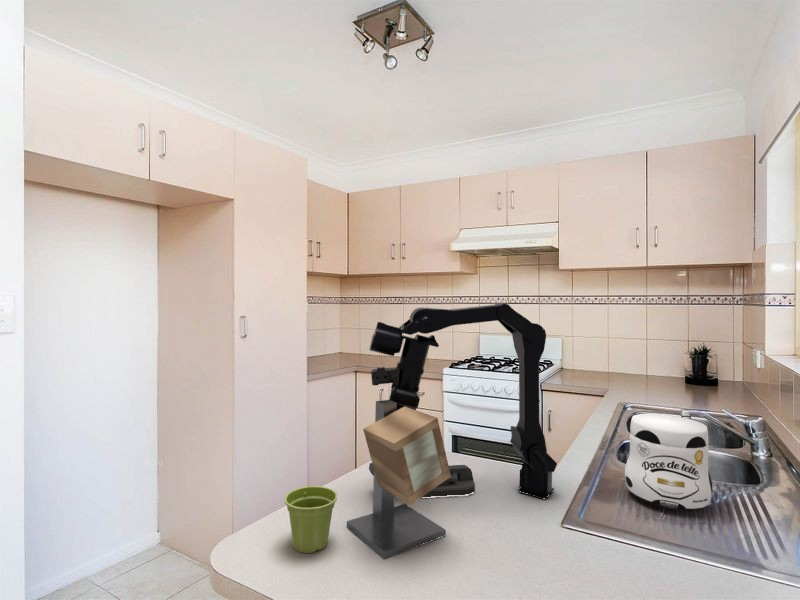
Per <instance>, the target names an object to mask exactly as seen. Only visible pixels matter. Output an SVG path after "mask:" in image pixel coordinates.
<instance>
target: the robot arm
mask: <svg viewBox="0 0 800 600" xmlns="http://www.w3.org/2000/svg"><path fill="white" fill-rule="evenodd" d="M495 321H496V322H499V324H500V325H501V326H502V327H503V328H504V329H505V330H507V331H508V332H509V333H510V334H511V336H512V342H513V347H514V351H515V353H516V355H517V359H518V394H519V395H518V397H519V399H518V403H519V405H518V408H519V410H518V411H519V414H518V422H517V424H516V426H513V425H510V434H511V437H510V441H509V443H510V444H511V445H512V446H513V449H514V451H515V452H516V453H517V454H518V455H519V457H520V459H521V460H522V461H523V463H521V469H520V470H519V482H518V483H519V484H518V485H519V487H520V488H519V489H518V492H519V491H521V492H524V493H528V494H531V495H535V496H538V497H541V498H540V499H542V498H547V496H548V495H549V494H550V493H551V492H552V491H553V490H554V491H555V488H554V487H552V486H553V473H554V472H555V470H556V467H557V461H555V460H554V458H552V457H551V456H550V454H549V453H548V449H547V443H546V438H545V434H544V431H543V428H542V426H541V424H540V361H541V358H542V356H543V353H544V351H545V347H546V340H547V332H546V329H545V328H544V327H543V326H542V325H541V324H539V323H534V322H532V321H530V320H529V319H528V318H526V317H525V316H523V315H522V314H521V313H519V312H518V311H516V310H515V309H513V308H512V307H511V306H510V304H508V303H501V302H499V303H495V304H488V305H479V306H478V305H477V306H470V307H461V308H451V309H447V308H446V309H445V308H436V307H435V308H432V307H417V308H415V309H413V311H412V312H411V314H410V316H409V319H408V320H406V321H405V322H404V323H403V324H401V325H400V326H399V327H397V326H395V325H389V324H386V323H384V322H381V321H377V323H376V327H375V330H374V333H373V334H372V335H371V340H370V344H369V345H370V346H369V351H370V352H375V353H378V354H383V355H385V356H386V355H387V356H390V357H395V354H400V352H401V354H400V358H399V361H398V362H397V364H396V367H393V366H392V367H385V366H381V367H379V366H378V367H377V368H372V369H371V371H370V374H371V385H372V386H379V385H386V384H387V385H388V384H391V388H390V395H389V399H388V400H390V401H393V402H396V403H397V410H399V409H401V408H403V407H404V406H405V407H408V408H411V409H414V410H416V411H417V409H418V407H419V404H420V400H421V399H420V395H419V394H418V393H419V391H420V383H421V380H422V376H423V375H424V371H425V370H424V369H425V364H426V361H427V356H428V353H429V349H430V346H431V347H435V348H438V347H439V346H440V344H439V343H438V341H437V340H436V336H435V335H433V334H431V335H429V336H425V335H426V334H430V333H433V332H437V331H441V330H444V329H446V328H450V327H453V326H459V325H460V326H461V325H466V324H467V325H469V324H477V323H478V324H479V323H487V322H495ZM417 333H420V334H417ZM403 334H405V335H403ZM414 334H416V335H414ZM421 334H425V335H421ZM407 335H409V336H407ZM411 335H414V337H411ZM403 342H404V344H403ZM402 347H403V348H402ZM401 349H402V351H401ZM554 491H553V492H554ZM553 492H552V493H553ZM524 493H523V494H524ZM552 493H551V494H552ZM531 495H530V496H531ZM535 496H534V497H535ZM538 497H537V498H538ZM547 499H548V498H547Z"/></svg>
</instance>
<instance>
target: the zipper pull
mask: <svg viewBox="0 0 800 600" xmlns="http://www.w3.org/2000/svg"><path fill="white" fill-rule="evenodd" d="M448 466H449V470H450V474H451V477H450V478H448V479H447V480H445V481H444V482H443V483H441V484H440V485H438V486H437V487H435V488H434V489H433V490H431V491H430V492H428V493H427V494H426V495H424V496H423V497H431V496H447V495H465V494H470V493H472V492H474V491H475V492H476V484H475V480H474V476H473V472H472V469H471V468H470V467H469V466H468V465H466V464H456V465H455V464H454V465H453V464H452V465H448ZM368 470H369V472H370V474H371V476H373V477H374V468H373V464H372V462H370V463H369V465H368Z"/></svg>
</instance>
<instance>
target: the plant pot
mask: <svg viewBox="0 0 800 600" xmlns="http://www.w3.org/2000/svg"><path fill="white" fill-rule="evenodd" d="M337 500H338V493H337V492H336V491H335V490H334V489H332V488H329V487H326V486H318V485H317V486H316V485H314V486H313V485H312V486H311V485H310V486H303V487H298V488H296V489H293V490H291V491H289V492H288V493H287V494H286V495H285V497H284V499H283V501H284V504H285V505H286V507H287V511H288V514H289V522H290V523H289V524H290V528H291V529H290V530H291V540H292V547H294V548H295V550H296V551H297V552H300V553H307V554H311V553H314V552H316V551H321V550H323V549H325V548H326V547H327V545H328V541H329V535H330V528H331V523H332V515H333V509H334V508H335V503H336V502H337Z"/></svg>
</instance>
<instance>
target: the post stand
mask: <svg viewBox="0 0 800 600" xmlns="http://www.w3.org/2000/svg"><path fill="white" fill-rule="evenodd" d="M395 411H397V403H396V402H393V401H390V400H389V399H383V400H376V401H375V417H374V419H375V421H374V423H375V422H377V421H379V420H380V419H382V418H384V417H386V416H388V415H390V414H392V413H393V412H395ZM372 495H373V496H372V513H369V514H365V515H363V516H360V517H357V518H356V517H355V518H352V519H350V520H349V519H348V520H347V521H346V528H347V529H348V530H349V531H351V532H352V533H353V534H354V536H356V537H357V538H359V539H360V540H361V541H362V542H363V543H364V544H366V545H367V546H368V547H369V548H370V549H371V550H372V551H374V552H375V553H376V554H378V556H380V557H381V558H382V559H383V560H386V559H388V558H390V557H393V556H396V555H399V554H401V553H402V554H403V553H404V552H407V551H409V549H410V550H411V548H412V549H414V547H415V548H417V547H416V546H418V547H420V546H422V545H421V544H423V543H426V542H428V543H430V542H429V541H431V540H434V539H436V538H438V537H441V536H444V535H446V533H447V532H446V531H447V530H446V529H445V528H444V527H442V526H440V524H437V523H436V522H434V521H433V520H432V519H429V518H428V517H427V516H425V515H423V514H422V513H421V512H419V511H417V510H415V509H414V508H413V507H411V506H410V505H408V504H406V503H402V504H400V505H396V506H395V496H394V495H392V494H391V493H389V492H387V491H386V490H384V489H383V488H381V487H379V486H378V483H377V479H376V475H375V472H374V476H373V494H372ZM444 537H445V536H444ZM436 540H437V539H436ZM434 541H435V540H434ZM431 542H432V541H431ZM426 544H427V543H426ZM419 545H420V546H419ZM423 545H424V544H423ZM406 550H407V551H406Z"/></svg>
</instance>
